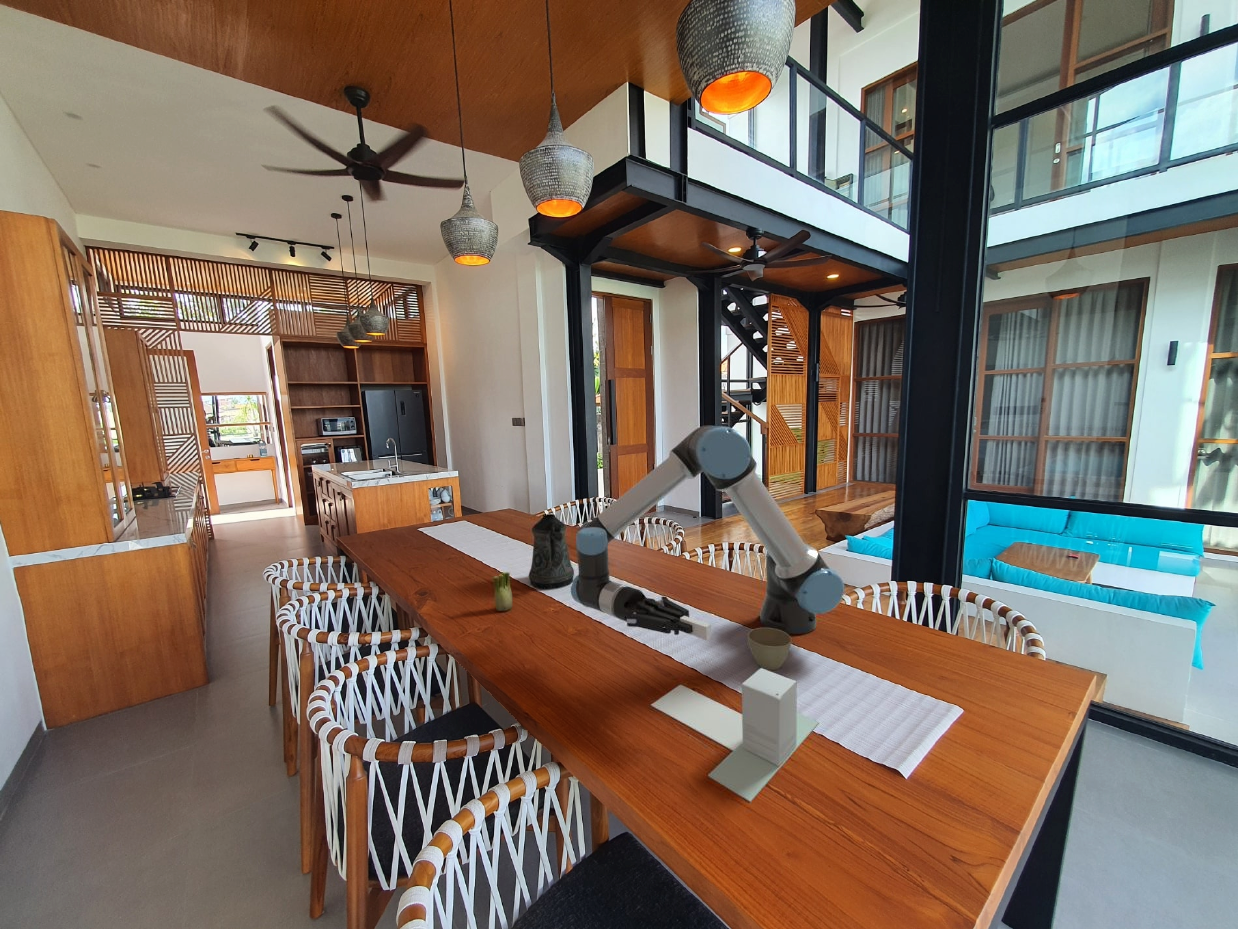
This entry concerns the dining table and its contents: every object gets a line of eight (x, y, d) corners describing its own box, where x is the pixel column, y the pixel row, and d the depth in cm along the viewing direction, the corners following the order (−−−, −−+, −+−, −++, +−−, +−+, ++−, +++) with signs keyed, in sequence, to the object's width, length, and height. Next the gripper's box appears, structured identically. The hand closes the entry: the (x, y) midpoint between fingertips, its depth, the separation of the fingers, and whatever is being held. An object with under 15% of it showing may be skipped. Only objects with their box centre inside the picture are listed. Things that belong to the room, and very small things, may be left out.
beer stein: (551, 571, 188) (548, 508, 185) (589, 580, 177) (586, 513, 174) (519, 584, 175) (515, 517, 172) (558, 595, 163) (555, 523, 160)
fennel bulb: (496, 614, 150) (493, 577, 148) (493, 608, 154) (491, 572, 153) (514, 610, 152) (512, 574, 151) (511, 605, 156) (509, 569, 155)
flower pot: (794, 677, 110) (794, 648, 109) (749, 674, 112) (749, 645, 111) (788, 655, 120) (788, 628, 119) (746, 652, 122) (746, 625, 121)
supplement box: (797, 746, 88) (798, 681, 86) (778, 768, 83) (779, 699, 81) (761, 727, 93) (761, 666, 92) (740, 747, 88) (740, 683, 86)
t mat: (624, 724, 96) (624, 723, 96) (701, 670, 114) (701, 670, 114) (750, 802, 76) (750, 801, 76) (819, 723, 94) (819, 722, 94)
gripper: (643, 608, 116) (727, 638, 99) (603, 628, 107) (689, 664, 90) (641, 578, 115) (726, 603, 98) (601, 595, 106) (687, 626, 89)
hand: (708, 632), depth 94 cm, fingers closed
